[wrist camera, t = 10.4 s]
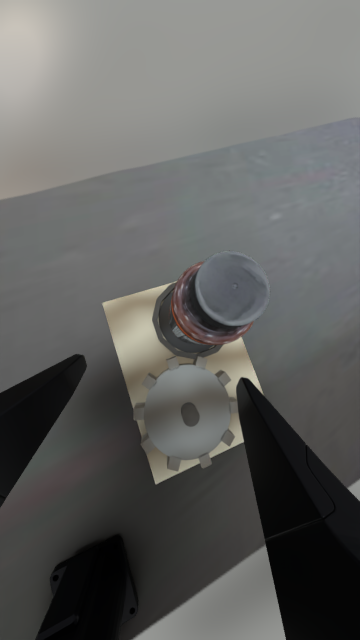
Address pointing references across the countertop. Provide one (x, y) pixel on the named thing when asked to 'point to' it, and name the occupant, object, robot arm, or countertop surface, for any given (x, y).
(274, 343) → the countertop surface
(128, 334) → the gear board
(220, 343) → the supplement bottle
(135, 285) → the countertop surface
